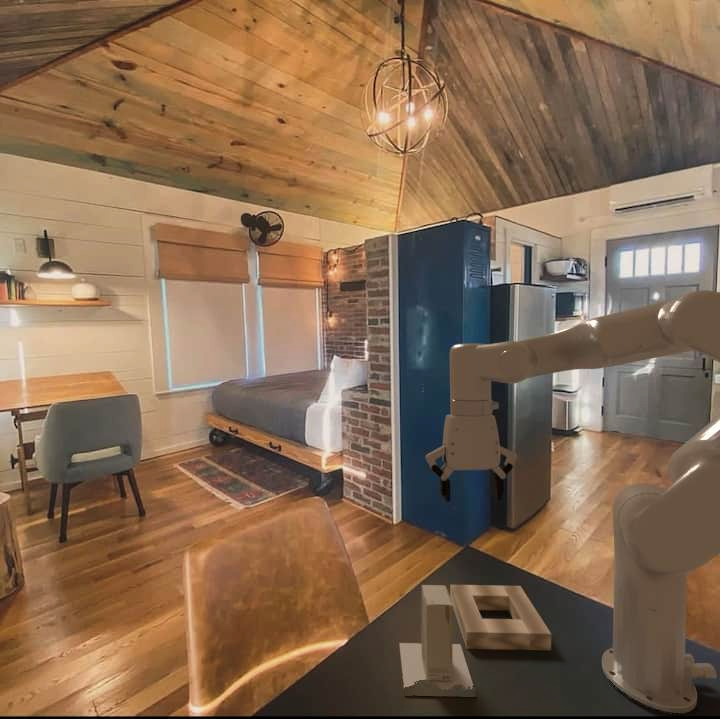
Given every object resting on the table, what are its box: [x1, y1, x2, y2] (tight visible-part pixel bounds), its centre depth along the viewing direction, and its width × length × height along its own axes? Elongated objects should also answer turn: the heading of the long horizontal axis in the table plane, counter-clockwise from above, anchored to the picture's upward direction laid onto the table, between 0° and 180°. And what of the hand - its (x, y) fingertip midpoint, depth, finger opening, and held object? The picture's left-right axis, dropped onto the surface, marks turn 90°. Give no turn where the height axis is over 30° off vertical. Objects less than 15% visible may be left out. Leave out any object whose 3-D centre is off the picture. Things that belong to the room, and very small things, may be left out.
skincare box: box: [421, 584, 454, 681], centre depth 69 cm, size 6×4×12 cm
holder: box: [449, 584, 552, 651], centre depth 81 cm, size 15×15×3 cm
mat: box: [398, 642, 475, 690], centre depth 69 cm, size 11×11×1 cm
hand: (471, 498), depth 78 cm, fingers open, 9 cm apart
